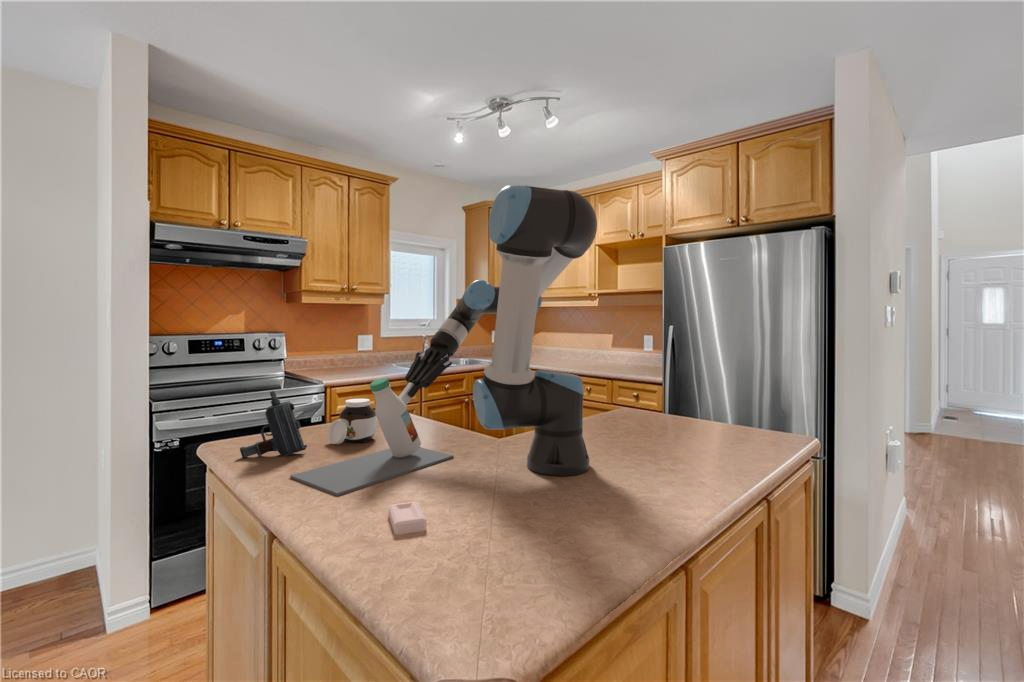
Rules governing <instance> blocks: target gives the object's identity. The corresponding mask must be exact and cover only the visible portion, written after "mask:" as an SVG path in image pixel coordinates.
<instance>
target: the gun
mask: <svg viewBox="0 0 1024 682" xmlns="http://www.w3.org/2000/svg"><path fill="white" fill-rule="evenodd" d="M269 394H270V398H271V400H270V403H271V405H270V406H268V407H266V411H265V413H264V414H265V418H266V419H267V423H268V424H266V425H264V426H263V427H262V428H261V430H260V435H261V437H262V441H257V442H256V443H255V444H251V445H249V446H241V447H239V451H240V454H241V457H242V459H246V458H248V457H251V456H253V455H254V456H255V455H257V456H258V457H261V456H263V455H264V454H266V453H269V452H278V454H280V456H281V457H283V458H284V457H286V456H289V455H292V454H296V453H300V452H302V451H306V449H307V448H308V445H307V444H305V443H304V441H303V438H302V437H303V436H302V435H301V431H300V429H301V428H302V427H301V423H300V420H297V419H296V416H295V413H294V410H295V409H296V408H295V405H294V403H291V401H290V400H287V401H283V402H281V401H280V398H278V397H277V394H276V391H275V390H273V391H270V392H269ZM266 428H269V430H270V433H264V430H265V429H266ZM265 435H266V436H267V437H271V438H269V439H266V436H265Z"/></svg>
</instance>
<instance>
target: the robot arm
mask: <svg viewBox="0 0 1024 682" xmlns="http://www.w3.org/2000/svg"><path fill="white" fill-rule="evenodd" d="M488 229H489V230H488V235H489V239H490V241H492V242H493V243H494V244H495V245H496V248H495V249H496V250H495V251H496V253H497V254H498V255H499V256H500V257H501V261H502V262H501V271H500V281H499V286H493V285H492V284H491V283H490V282H488V281H486V280H484V279H483V280H482V279H477V280H474V281H473V282H471V283H470V284H469V285H468V286H467V288H466V289H465V290H464V293H463V294H462V297H461V298H460V300H459V301H458V303H457V304H456V306H455V307H454V309H453V310H452V312H451V313H450V314H449V315H448V317H447V318H446V319H445V320H444V322H443V323H442V324H441V326H440V327H439V328H438V330H437V331H436V332H435V334H433V336H432V337H431V339H430V343H429V345H430V346H429V347H428V348H427V349H425V351H424V352H422V353H420V351H419V352H416V354H415V358H414V360H413V362H412V363H411V365H410V368H409V370H408V371H407V373H406V374H405V376H404V379H405V381H406V382H407V383H406V385H405V386H404V388H403V389H401V393H400V394H399V395H397V396H398V397H399V398H400V399H401V400H402V401H403V402H404V404H405V406H406V407H407V405H408V404H409V402H411V400H412V398H414V397H415V396H416V395H417V393H418V391H420V390H421V389H423V388H424V389H427V388H429V387H430V386H431V384H433V382H435V380H437V379H438V377H440V375H441V374H443V372H444V371H445V370H446V369H448V368H449V367H451V366H452V365H453V362H452V360H451V359H450V358H451V357H454V354H455V353H456V352H457V351H458V349H459V348H460V347H459V346H460V345H462V343H463V342H464V341H465V339H466V337H467V336H468V335H469V333H470V332H471V331H472V329H473V328H474V327H475V326H476V325H477V323H478V322H479V320H480V319H481V317H482V316H483V315H486V314H488V315H490V314H491V315H492V314H493V315H495V314H496V316H495V318H496V319H495V327H494V336H493V347H492V354H491V355H492V356H491V363H490V364H488V365H487V366H486V367H484V368H483V376H482V378H479V379H476V380H474V383H473V387H472V397H473V398H472V399H473V406H474V409H475V414H476V417H477V418H478V422H479V423H480V425H481V426H482V427H483V428H484V429H486V430H492V431H494V430H500V431H504V430H509V429H519V428H520V429H521V428H533V427H534V435H533V439H532V441H531V444H530V448H529V452H528V454H527V457H526V466H527V468H528V469H529V470H530V471H533V472H534V473H537V474H541V475H546V476H555V477H557V476H558V477H561V476H562V477H566V476H575V475H581V474H584V473H586V472H588V471H589V470H590V457H589V454H588V450H587V447H586V444H585V440H584V436H583V432H584V431H583V428H584V427H583V425H584V423H583V421H584V419H583V418H584V417H583V416H584V415H583V413H584V396H585V393H584V381H583V379H582V378H581V376H579V375H577V374H572V373H567V372H561V371H553V370H546V369H545V370H544V369H543V370H541V369H540V370H539V369H538V370H535V372H533V370H532V369H531V368H530V363H531V357H532V355H531V354H532V348H533V343H534V342H533V340H534V333H535V325H536V318H537V313H538V312H539V311H540V309H541V308H540V307H541V306H542V296H543V294H544V292H545V291H546V290H548V288H549V287H550V286H551V285H552V284H553V282H555V281H556V279H557V278H558V277H559V276H560V275H561V274H562V272H563V271H564V270H565V269H566V268H567V267H568V266H569V265H570V263H572V261H573V260H576V259H579V258H581V257H582V256H583V255H585V254H586V252H587V251H589V249H590V247H591V246H592V244H593V243H594V240H595V239H596V235H597V230H598V219H597V213H596V212H595V210H594V207H593V205H592V204H591V202H590V201H589V200H588V199H587V198H586V197H585V196H583V195H582V194H580V193H579V192H576V191H572V190H568V189H556V188H555V189H554V188H546V187H539V186H531V185H530V186H529V185H526V184H524V185H522V184H521V185H517V184H516V185H513V184H510V185H506V186H504V187H503V188H501V190H500V191H498V193H497V195H496V197H495V198H494V200H493V203H492V205H491V210H490V213H489V218H488Z"/></svg>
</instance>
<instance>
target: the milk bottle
mask: <svg viewBox="0 0 1024 682" xmlns="http://www.w3.org/2000/svg"><path fill="white" fill-rule="evenodd" d="M369 387H370V390H371V393H372V394H374V398H375V407H374V411H375V413H376V421H377V422H378V424H379V427H380V429H381V432H382V434H383V436H384V439H385V441H386V443H387V446H388V449H389V448H390V450H391V452H392V454H393V456H395V457H397V458H401V457H406V456H408V455H411V454H412V453H414V452H415V451H417V450H418V449H419V448H420V447H421V445H422V442H421V438H420V436H419V434H418V431H417V429H416V426H415V424H414V422H413V420H412V417H411V414H410V413H409V410H408V408H407V405H406V406H405V404H404V402H403V401H402V400H401V399H400V398H399V397H398V396H399V395H397V394H396V393H395V392H394V391H393V389H392V388H391V384H390V381H389V379H388V377H381V378H377V379H375V380H373V381H372V382H371V383H370V384H369Z"/></svg>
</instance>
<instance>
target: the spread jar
mask: <svg viewBox="0 0 1024 682" xmlns="http://www.w3.org/2000/svg"><path fill="white" fill-rule="evenodd" d="M370 401H371V400H370V399H369V398H351V399H346V400H345V404H344V405H345V407H344V408H343V410H341V412H340V414H339V416H338V419H334V421H332V422H331V423H330V425H329V426H328V429H327V439H328V442H329V443H330V444H331V445H340V444H342V443H344V442H347V443H349V444H350V443H351V444H359V443H361V444H362V443H366V442H369V441H370V440H372V438H373V437H375V435H376V433H377V426H378V425H377V417H376V412H375V409H374V408H372V407H371V406H370V405H371V402H370Z"/></svg>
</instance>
